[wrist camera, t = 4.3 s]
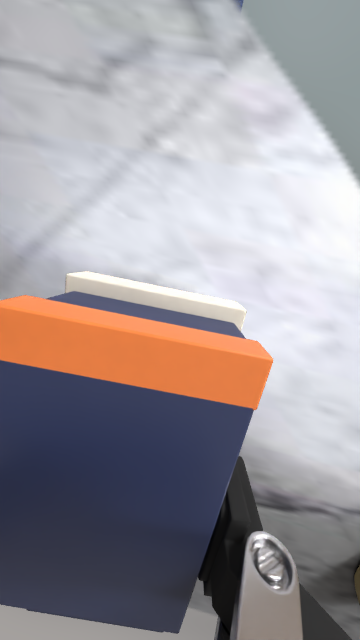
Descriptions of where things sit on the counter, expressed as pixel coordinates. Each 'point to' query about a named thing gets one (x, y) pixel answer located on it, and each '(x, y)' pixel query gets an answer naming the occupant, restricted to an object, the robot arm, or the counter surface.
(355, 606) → the counter surface
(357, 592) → the squeeze bottle
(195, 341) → the blue orange block
